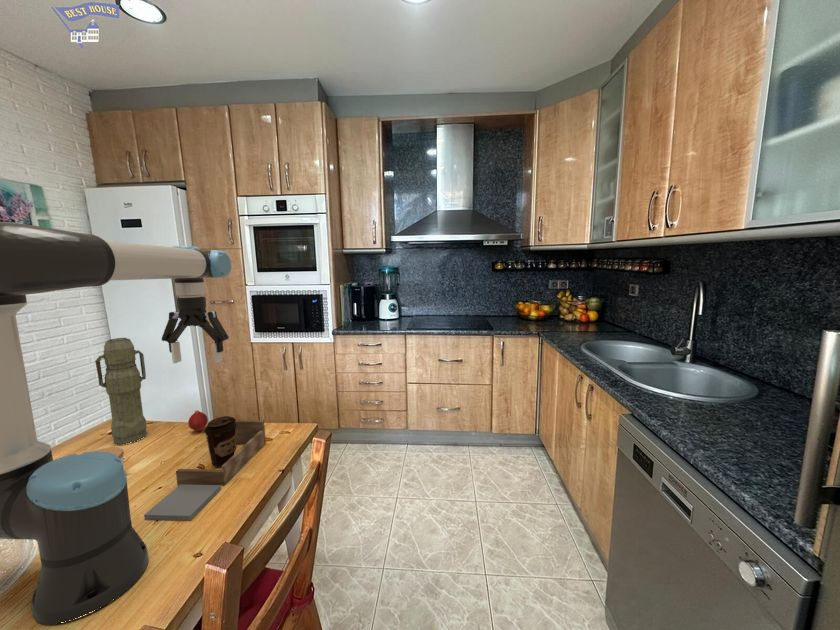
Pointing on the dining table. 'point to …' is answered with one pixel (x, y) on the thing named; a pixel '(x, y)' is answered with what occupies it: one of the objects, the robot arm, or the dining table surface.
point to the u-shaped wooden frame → (246, 435)
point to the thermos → (123, 389)
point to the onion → (198, 421)
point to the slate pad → (183, 502)
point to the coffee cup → (221, 439)
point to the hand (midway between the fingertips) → (197, 362)
